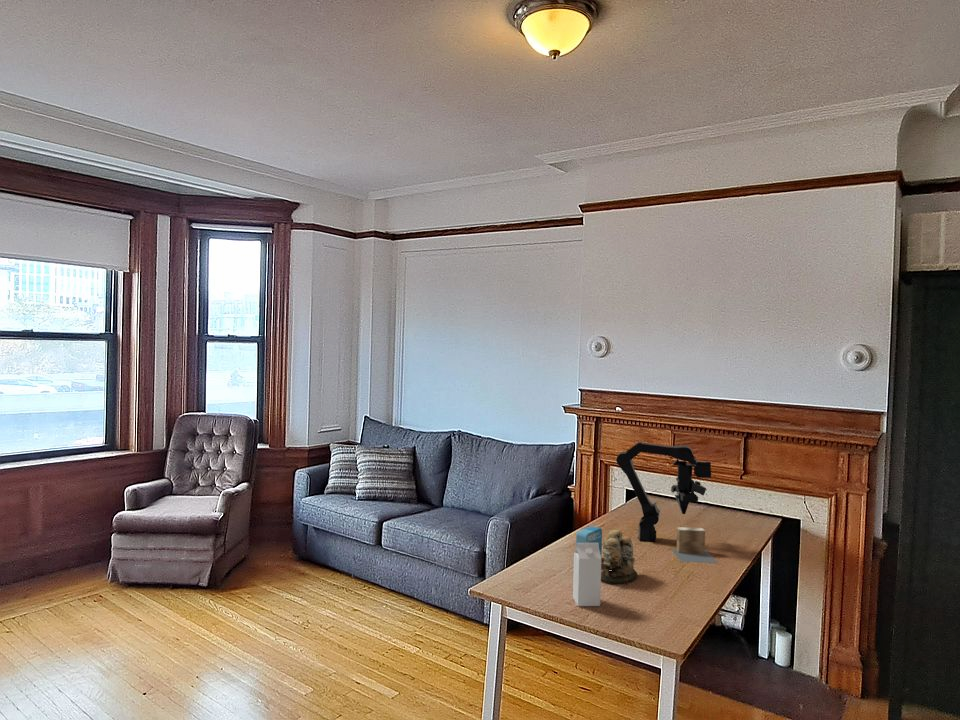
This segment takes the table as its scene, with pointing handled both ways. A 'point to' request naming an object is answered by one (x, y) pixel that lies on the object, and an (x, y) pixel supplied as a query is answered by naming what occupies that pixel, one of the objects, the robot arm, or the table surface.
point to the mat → (694, 557)
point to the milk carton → (587, 574)
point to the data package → (590, 536)
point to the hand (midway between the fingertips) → (683, 513)
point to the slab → (690, 540)
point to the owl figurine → (618, 559)
